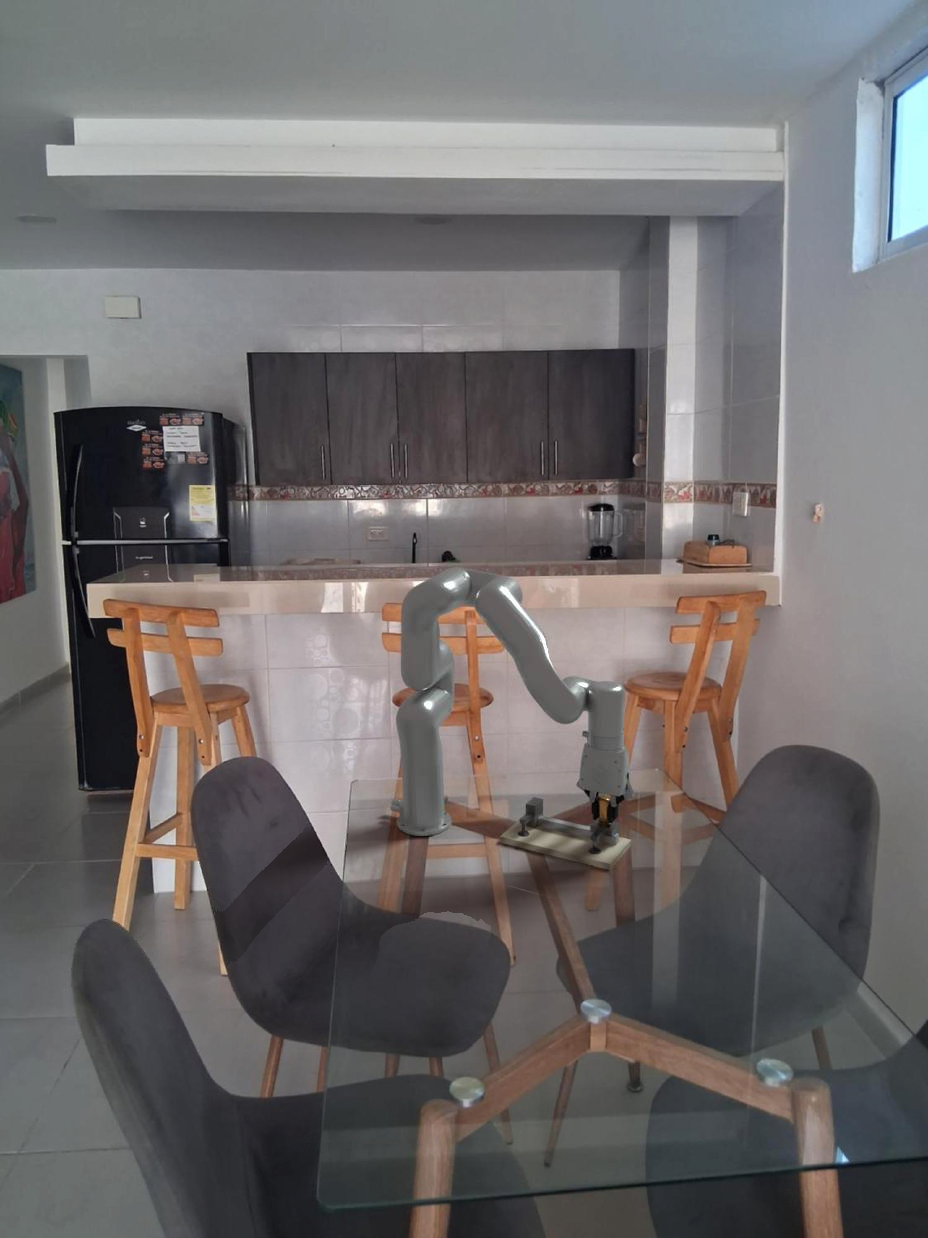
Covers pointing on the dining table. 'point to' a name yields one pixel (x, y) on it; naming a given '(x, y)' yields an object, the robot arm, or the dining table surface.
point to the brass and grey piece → (602, 822)
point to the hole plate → (563, 839)
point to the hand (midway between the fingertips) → (604, 818)
